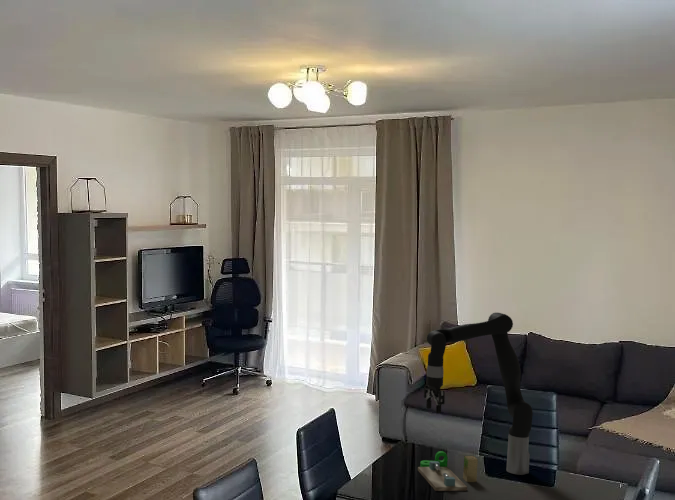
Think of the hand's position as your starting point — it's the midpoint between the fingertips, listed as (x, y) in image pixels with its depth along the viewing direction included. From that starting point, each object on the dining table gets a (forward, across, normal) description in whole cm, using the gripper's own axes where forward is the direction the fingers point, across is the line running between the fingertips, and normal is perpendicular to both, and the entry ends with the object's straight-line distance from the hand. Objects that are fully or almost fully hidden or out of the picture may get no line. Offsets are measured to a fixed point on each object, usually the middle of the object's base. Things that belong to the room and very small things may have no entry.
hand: (433, 410), depth 307 cm
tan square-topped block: (+28, -13, -12) cm, 34 cm away
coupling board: (+28, -10, +1) cm, 30 cm away
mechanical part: (+28, +6, -5) cm, 30 cm away
